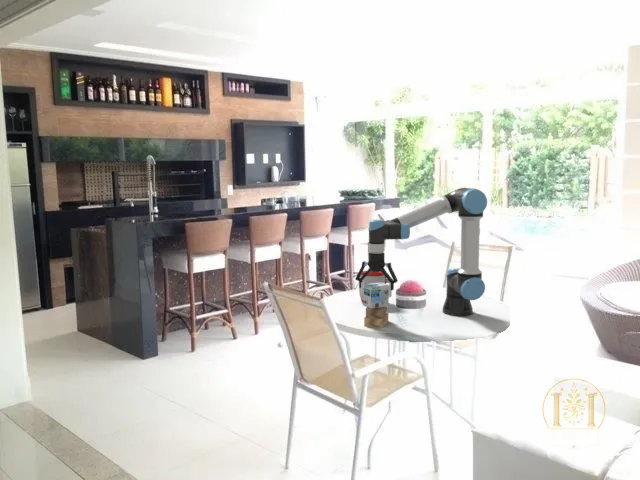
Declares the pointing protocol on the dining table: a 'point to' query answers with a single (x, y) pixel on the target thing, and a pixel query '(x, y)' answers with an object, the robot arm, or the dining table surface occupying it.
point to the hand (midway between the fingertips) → (376, 295)
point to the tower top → (376, 313)
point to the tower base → (375, 322)
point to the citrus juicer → (372, 280)
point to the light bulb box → (376, 295)
